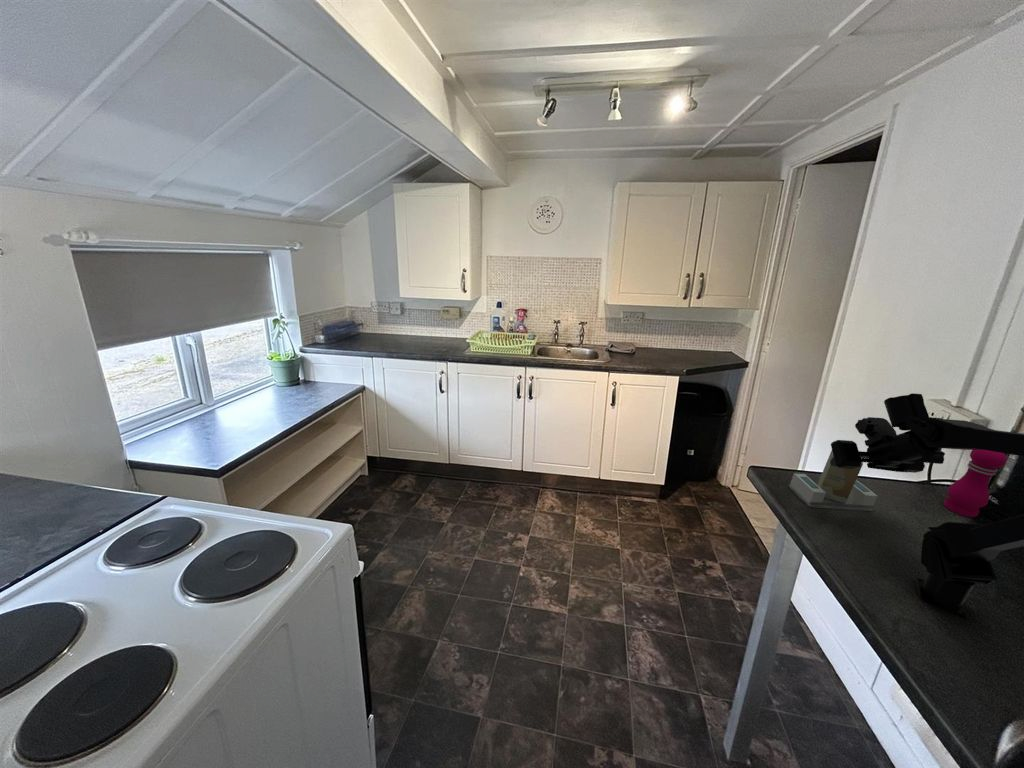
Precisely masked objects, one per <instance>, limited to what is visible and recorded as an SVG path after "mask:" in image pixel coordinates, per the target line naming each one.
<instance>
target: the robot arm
mask: <svg viewBox="0 0 1024 768" xmlns="http://www.w3.org/2000/svg"><path fill="white" fill-rule="evenodd" d="M883 405H884V407H885V409H886V412H887V415H888V418H889V420H887V419H885V418H883V417H873V416H872V417H871V416H870V417H867V418H866V417H863V418H862V419H858V420H857V422H856V423H855V425H854V428H855V429H856V430H857V432H858V433H859V434H860V435H865V437H866V440H864V444H865V446H866V447H867V449H866V451H861V450H860V451H859V447H858V444H857V442H855V441H853V440H845V439H843V440H842V439H837V440H834V441H832V442H831V443H830V447H831V451H833V455H834V457H833V458H832V460H831V461H830V463H831V465H832V466H837V467H839V468H847V469H853V468H858V467H860V465H861V463H862V462H863V463H866V466H867V468H868V469H873V470H874V469H875V470H882V471H888V472H896V473H916V474H917V473H920V472H923V471H924V469H925V467H926V465H925V464H936V465H937V464H939V465H942V464H944V461H945V457H944V456H945V455H946V453H945V452H944V451H942V449H947V450H948V449H949V450H965V451H972V450H988V451H994V452H1000V453H1004V454H1005V455H1011V456H1012V455H1013V456H1018V457H1024V433H1021V432H1012V431H1003V430H999V429H998V430H997V429H993V428H989V427H986V426H985V425H983V424H978V423H975V422H972V421H967V420H961V419H960V420H959V419H948V418H947V419H946V418H941V417H930V415H929V413H928V411H927V407H926V405H925V400H924V397H923V395H922V393H910V394H906V395H899V396H894V397H888V398H886V399H885V400H884V401H883ZM889 421H890V422H889ZM894 428H898V430H900V431H905V432H902V433H898V434H897V431H896V430H895V429H894ZM928 529H929V530H928V531H926V532H925V533H923V535H922V536H923V539H922V542H921V557H920V564H922V565H923V566H924V567H925V569H926V570H925V571H926V572H927V574H926V577H925V578H924V579H923V578H920V577H917V578H915V583H916V587H917V591H918V596H919V599H920V600H921V601H924V602H927V603H929V604H931V605H933V606H935V607H939V608H941V609H943V610H945V611H948V612H951V613H954V614H956V615H958V616H961V617H963V618H968V616H969V614H968V611H967V609H966V606H965V605H966V604H965V601H966V600H967V599H968V597H969V595H970V593H971V591H972V590H973V588H974V587H975V585H976V584H984V585H987V586H988V585H991V584H992V583H995V582H996V581H997V580H998V578H997V575H996V573H995V570H994V566H993V565H992V563H991V561H993V560H996V558H997V556H999V553H1001V552H1003V551H1007V550H1012V549H1017V548H1021V547H1024V513H1023V514H1019V515H1015V516H1011V517H1008V518H1005V519H1001V520H997V521H994V522H991V523H990V522H989V523H987V524H983V525H981V524H980V523H971V522H970V523H968V522H967V523H966V522H957V521H956V522H953V521H947V522H943V523H941V524H940V525H939V526H938V525H937V526H929V527H928Z"/></svg>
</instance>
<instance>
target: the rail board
mask: <svg viewBox="0 0 1024 768" xmlns="http://www.w3.org/2000/svg"><path fill="white" fill-rule="evenodd" d="M788 487H789V488H790V490H792V491H793V493H794V494H795V495H797V497H799V498H800V500H802V501H803V502H804V504H806V506H808V508H819V509H831V510H832V509H835V510H846V511H847V510H851V511H864V512H866V511H867V512H873V510H874V508H875V506H867V505H859V504H856V503H855V502H854V501H853V500H852V499H850V498H849V497H848V499H847V501H846V503H845V504H844V503H841V502H837V501H834V500H831V499H827V498H824V499H823V502H822V503H821V502H810V503H808V502H807V501H806V500H805V499H804V498H803V497H802V496H801V495H800V494H799V493H798V492H797V491H796V490H795V489H794V488H793V487H792V486H791V481H790V482H789V484H788Z"/></svg>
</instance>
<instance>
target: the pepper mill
mask: <svg viewBox="0 0 1024 768" xmlns="http://www.w3.org/2000/svg"><path fill="white" fill-rule="evenodd" d="M969 457H970V460H969V461H968V463H967V468H968V469H967V471H966V472H965V474H964V475H963V476H961V477H960V478H959V479H958V480H956V481H954V482H953V483H952V484H950V486H949V487H948V488H947V490H946V491H947V495H948V496H947V497H946V498H945V500H944V502H943V505H944V507H945V508H946V509H948V510H949V511H951V512H953V513H955V514H958V515H960V516H964V517H967V518H976V517H978V515H979V514H980V511H981V510H980V508H983V507H986V506H987V505H988V502H989V500H990V491H989V483H990V480H991V478H992V477H993V476H996V475H997V472H998V471H999V469H1000V468H1002V467H1004V466H1005V465H1006V463H1007V460H1008V457H1007V454H1006V453H1000V452H994V451H988V450H970V453H969ZM998 468H999V469H998Z"/></svg>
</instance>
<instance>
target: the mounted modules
mask: <svg viewBox="0 0 1024 768" xmlns="http://www.w3.org/2000/svg"><path fill="white" fill-rule="evenodd" d="M790 480H791V481H790V482H791V486H792V487H793V488H794V489H795V490H796V491H797V492H798V493H799V494H800V495H801V496H802V497H803V498H804V499H805V500H806V501H807V502H808V503H810V502H821V503H822V502H823V499H824V496H825V494H826V492H825V491H823V490H822V489H821V488H820V487H819V486H818V485H817V484H818V483H816V482H814V481H813V480H812V479H811V478H810V477H809V476H808V475H807V474H805V473H795V472H794V473H793V475H792V477H791V479H790ZM849 498H850V499H852V500H853V501H854V502H855V503H856V504H859V505H867V506H874V505H875V503H876V501H877V499H878V495H877V494H875V493H874V492H873V491H872V490H871V489H869V488H868V487H867V486H866V485H864V484H863V483H862V482H860V481H858V480H857V479H856V481H855V483H854V486H853V488H852V490H851V492H850V494H849ZM874 507H875V506H874Z"/></svg>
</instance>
